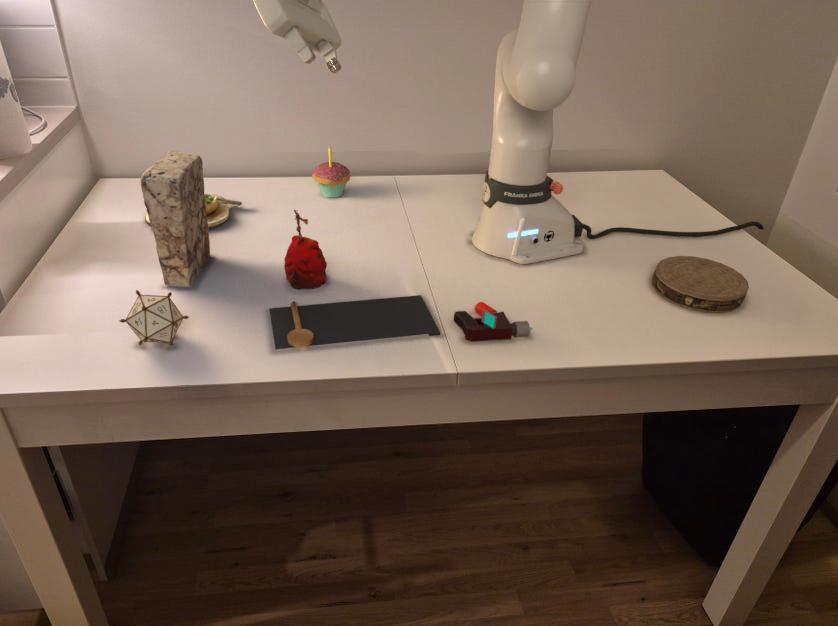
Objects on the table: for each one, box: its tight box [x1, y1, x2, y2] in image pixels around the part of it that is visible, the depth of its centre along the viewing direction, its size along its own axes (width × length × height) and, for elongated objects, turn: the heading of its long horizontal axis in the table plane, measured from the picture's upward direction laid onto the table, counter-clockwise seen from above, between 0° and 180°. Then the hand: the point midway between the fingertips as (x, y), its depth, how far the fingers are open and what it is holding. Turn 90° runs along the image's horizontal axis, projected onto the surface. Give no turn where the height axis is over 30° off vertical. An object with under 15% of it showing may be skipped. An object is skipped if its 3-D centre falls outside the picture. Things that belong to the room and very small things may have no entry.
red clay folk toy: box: [283, 209, 328, 290], centre depth 111 cm, size 8×7×15 cm
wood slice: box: [651, 255, 750, 314], centre depth 119 cm, size 16×16×3 cm
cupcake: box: [312, 143, 351, 198], centre depth 146 cm, size 9×8×12 cm
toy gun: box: [453, 301, 534, 342], centre depth 105 cm, size 10×12×5 cm
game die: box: [119, 289, 190, 346], centre depth 97 cm, size 9×8×10 cm
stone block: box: [139, 150, 212, 288], centre depth 112 cm, size 13×7×20 cm, turn 2°
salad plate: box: [144, 193, 243, 229], centre depth 136 cm, size 19×18×5 cm
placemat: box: [268, 294, 441, 350], centre depth 106 cm, size 26×12×1 cm, turn 104°
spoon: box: [287, 300, 314, 348], centre depth 103 cm, size 12×4×1 cm, turn 14°
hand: (324, 66), depth 103 cm, fingers open, 8 cm apart
